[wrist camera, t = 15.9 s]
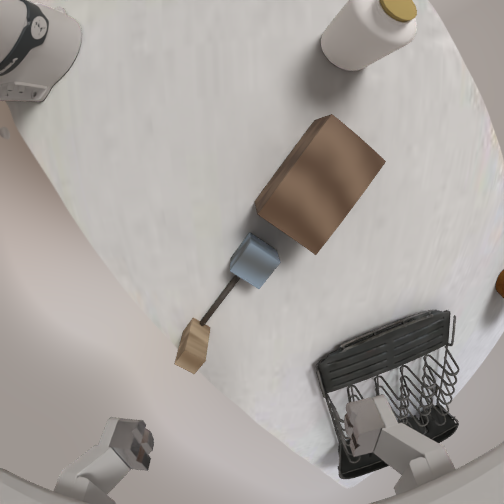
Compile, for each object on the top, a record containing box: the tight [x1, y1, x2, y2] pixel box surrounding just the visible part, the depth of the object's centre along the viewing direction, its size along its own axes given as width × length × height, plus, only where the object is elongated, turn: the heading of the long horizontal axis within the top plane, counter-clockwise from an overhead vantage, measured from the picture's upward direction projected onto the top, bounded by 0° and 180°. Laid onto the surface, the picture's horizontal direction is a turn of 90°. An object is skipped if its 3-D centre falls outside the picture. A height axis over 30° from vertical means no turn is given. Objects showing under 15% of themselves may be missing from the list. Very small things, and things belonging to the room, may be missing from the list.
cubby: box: [255, 114, 386, 255], centre depth 38 cm, size 15×9×8 cm, turn 145°
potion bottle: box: [321, 0, 417, 71], centre depth 26 cm, size 8×8×18 cm
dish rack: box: [316, 310, 459, 479], centre depth 53 cm, size 34×44×12 cm
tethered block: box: [175, 233, 280, 374], centre depth 43 cm, size 21×5×9 cm, turn 144°
